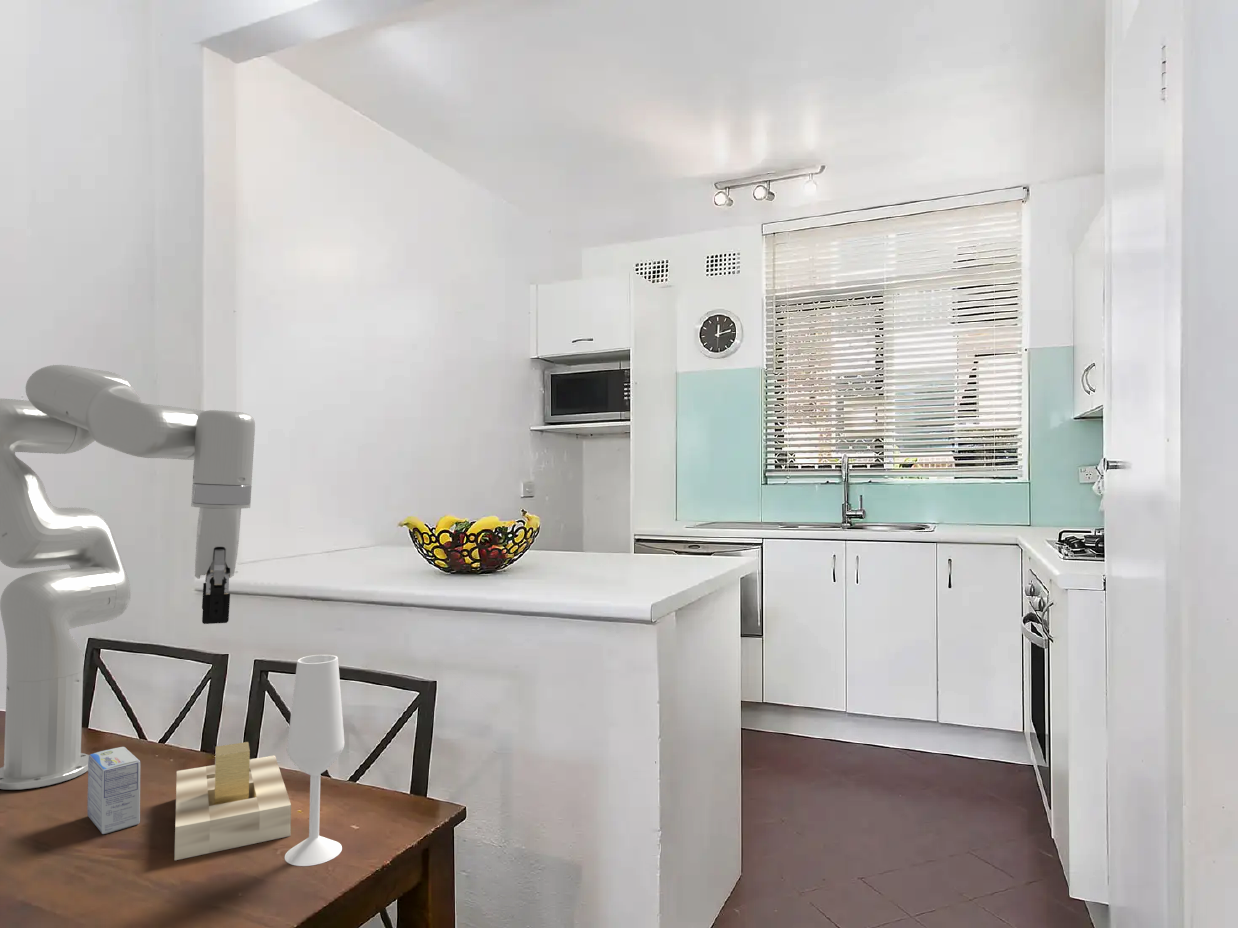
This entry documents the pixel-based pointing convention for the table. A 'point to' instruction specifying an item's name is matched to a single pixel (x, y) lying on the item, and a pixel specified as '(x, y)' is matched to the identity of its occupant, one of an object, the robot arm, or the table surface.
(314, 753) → the champagne flute
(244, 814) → the socket block
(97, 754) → the medicine box
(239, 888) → the table surface
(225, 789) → the brass peg
